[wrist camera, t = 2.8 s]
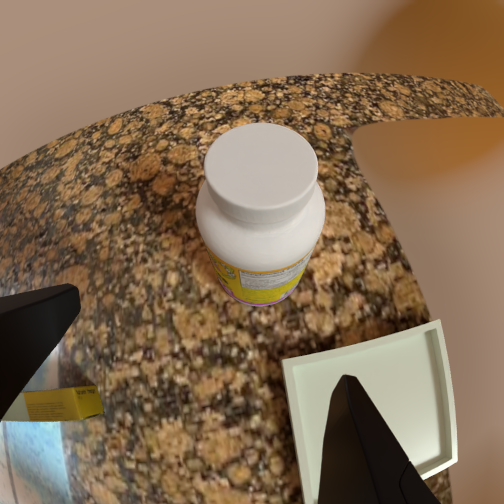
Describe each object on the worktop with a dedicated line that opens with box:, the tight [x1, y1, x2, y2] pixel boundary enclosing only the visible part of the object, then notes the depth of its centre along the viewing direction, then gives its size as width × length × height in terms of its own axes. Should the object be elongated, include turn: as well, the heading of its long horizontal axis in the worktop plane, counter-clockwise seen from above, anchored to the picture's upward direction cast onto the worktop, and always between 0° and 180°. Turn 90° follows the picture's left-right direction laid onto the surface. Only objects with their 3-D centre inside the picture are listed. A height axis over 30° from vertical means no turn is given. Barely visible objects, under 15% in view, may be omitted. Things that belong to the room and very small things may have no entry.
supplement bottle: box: [196, 123, 325, 306], centre depth 17 cm, size 7×7×13 cm
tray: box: [280, 319, 458, 504], centre depth 17 cm, size 13×13×2 cm
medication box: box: [1, 385, 105, 422], centre depth 17 cm, size 12×3×4 cm, turn 107°
